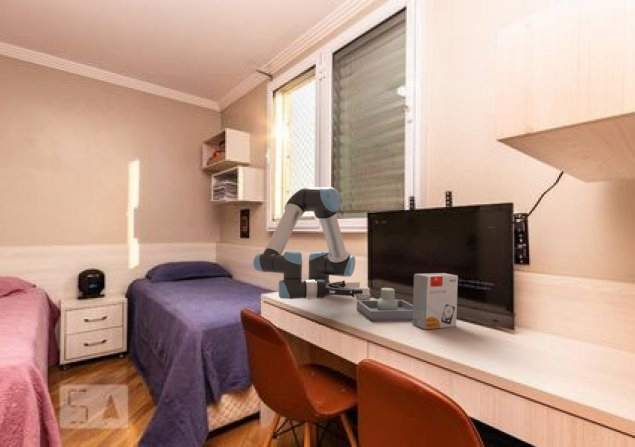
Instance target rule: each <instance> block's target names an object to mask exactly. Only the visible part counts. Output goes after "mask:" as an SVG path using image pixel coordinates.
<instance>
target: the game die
mask: <svg viewBox="0 0 635 447" xmlns="http://www.w3.org/2000/svg"><path fill="white" fill-rule="evenodd" d="M354 298H356V301H360V300H372V299H373V295H372V294H371V293H370V295H355V297H354Z"/></svg>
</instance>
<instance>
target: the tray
mask: <svg viewBox="0 0 635 447" xmlns="http://www.w3.org/2000/svg"><path fill="white" fill-rule="evenodd" d="M397 300H398V308H397V310H385V311H379V310H378V309H377V303H378V299H373V300H372V299H370V300H360V301H358V300H356V310H357V311H358V312H359V313H360V314H362V315H363V316H364V317H365V318H366V319H367V320H369V321H370V322H397V321H398V322H400V321H401V322H403V321H413V304H411V303H410V302H408V301H405V300H404V299H397Z"/></svg>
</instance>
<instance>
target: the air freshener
mask: <svg viewBox="0 0 635 447" xmlns="http://www.w3.org/2000/svg"><path fill="white" fill-rule="evenodd" d="M395 291H396V290H395V289H394V288H392V287H382V288H380V297H379V298H378V299H377V300H378V303H377V309H378V310H379V311H385V310H397V308H398V300H399V299H397V298H395V297H396V296H395V295H396V294H395V293H396V292H395Z"/></svg>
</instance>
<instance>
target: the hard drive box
mask: <svg viewBox="0 0 635 447" xmlns="http://www.w3.org/2000/svg"><path fill="white" fill-rule="evenodd" d="M458 278H459V276H458V275H457V274H450V273H446V272H442V273H441V272H439V273H438V272H436V273H435V272H433V273H431V272H430V273H414V274H413V296H412V297H413V298H412V299H413V300H412V305H413V320H412V322H411V323H412V325H413V326H416V327H418V328H420V329H423V330H434V329H442V328H443V329H444V328H453V327H454V326H455V327H457V314H458V313H457V310H458V282H459V280H458Z"/></svg>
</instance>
